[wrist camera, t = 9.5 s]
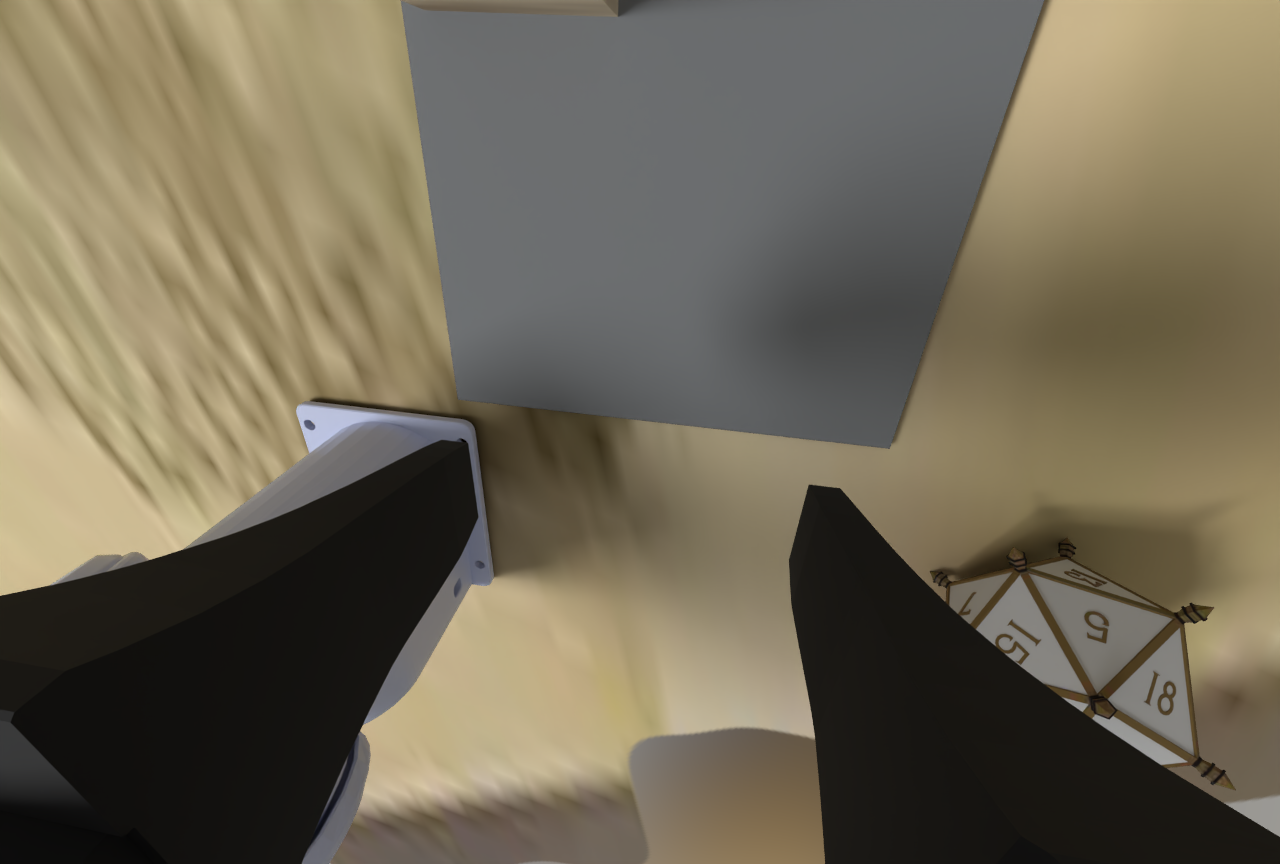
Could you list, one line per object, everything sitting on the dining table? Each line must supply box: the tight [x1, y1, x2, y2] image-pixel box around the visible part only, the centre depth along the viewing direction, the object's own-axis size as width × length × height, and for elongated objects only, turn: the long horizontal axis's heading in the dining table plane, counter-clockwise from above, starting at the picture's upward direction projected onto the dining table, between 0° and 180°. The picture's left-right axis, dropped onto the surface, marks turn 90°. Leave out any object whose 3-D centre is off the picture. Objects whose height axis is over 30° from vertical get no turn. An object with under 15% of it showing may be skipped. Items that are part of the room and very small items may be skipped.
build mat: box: [401, 0, 1044, 449], centre depth 15 cm, size 22×17×1 cm
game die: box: [930, 538, 1236, 790], centre depth 19 cm, size 9×8×10 cm
